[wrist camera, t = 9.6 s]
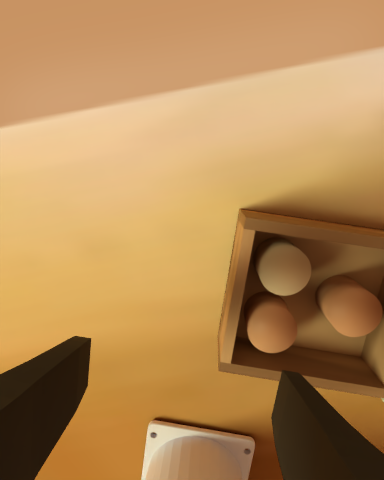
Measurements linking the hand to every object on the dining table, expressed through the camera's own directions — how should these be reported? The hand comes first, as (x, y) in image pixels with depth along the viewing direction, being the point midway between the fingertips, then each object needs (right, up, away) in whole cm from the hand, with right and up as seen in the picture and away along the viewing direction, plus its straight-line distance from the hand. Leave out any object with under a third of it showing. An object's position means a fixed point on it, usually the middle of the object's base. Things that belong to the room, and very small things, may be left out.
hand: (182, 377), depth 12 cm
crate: (+8, +2, +9) cm, 12 cm away
